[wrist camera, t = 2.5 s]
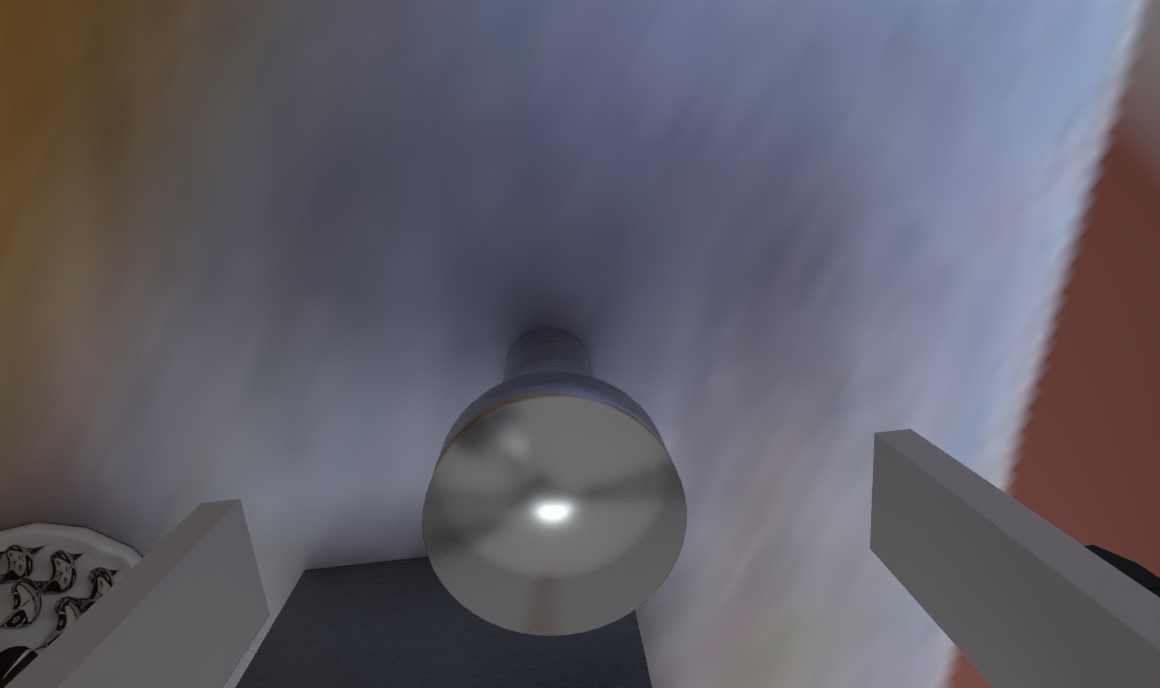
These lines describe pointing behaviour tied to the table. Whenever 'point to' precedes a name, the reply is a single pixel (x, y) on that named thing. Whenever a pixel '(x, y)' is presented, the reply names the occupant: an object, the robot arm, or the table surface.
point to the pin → (553, 497)
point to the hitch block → (426, 639)
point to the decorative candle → (51, 584)
